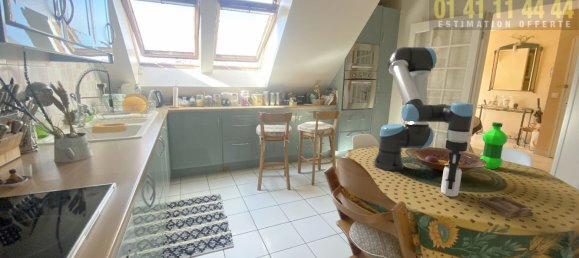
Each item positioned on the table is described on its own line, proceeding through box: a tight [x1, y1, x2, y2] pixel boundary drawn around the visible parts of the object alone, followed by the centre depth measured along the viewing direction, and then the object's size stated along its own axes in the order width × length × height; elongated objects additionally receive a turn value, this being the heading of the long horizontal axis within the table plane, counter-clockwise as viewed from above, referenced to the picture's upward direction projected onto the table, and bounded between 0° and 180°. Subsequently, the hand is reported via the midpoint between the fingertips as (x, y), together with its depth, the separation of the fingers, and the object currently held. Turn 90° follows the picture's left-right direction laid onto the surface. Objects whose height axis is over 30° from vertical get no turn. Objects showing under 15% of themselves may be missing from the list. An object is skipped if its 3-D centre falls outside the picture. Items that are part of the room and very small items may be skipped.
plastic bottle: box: [479, 121, 508, 170], centre depth 139 cm, size 10×10×25 cm
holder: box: [477, 195, 534, 219], centre depth 97 cm, size 12×12×2 cm
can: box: [440, 164, 463, 198], centre depth 109 cm, size 6×6×12 cm
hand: (449, 192), depth 110 cm, fingers closed on can, 6 cm apart
